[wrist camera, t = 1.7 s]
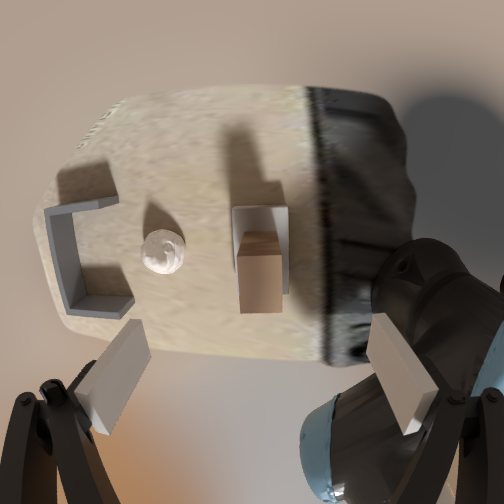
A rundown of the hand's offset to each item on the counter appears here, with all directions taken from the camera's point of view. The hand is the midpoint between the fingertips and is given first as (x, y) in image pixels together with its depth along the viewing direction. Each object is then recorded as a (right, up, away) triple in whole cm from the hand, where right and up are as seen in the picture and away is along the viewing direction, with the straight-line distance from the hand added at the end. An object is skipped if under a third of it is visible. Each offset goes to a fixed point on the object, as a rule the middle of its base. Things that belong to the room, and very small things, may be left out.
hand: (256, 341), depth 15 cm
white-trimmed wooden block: (+1, +6, +19) cm, 20 cm away
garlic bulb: (-11, +5, +20) cm, 23 cm away
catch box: (-22, +5, +20) cm, 30 cm away
